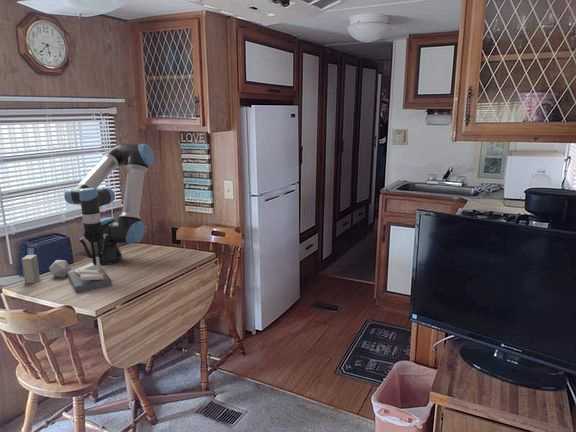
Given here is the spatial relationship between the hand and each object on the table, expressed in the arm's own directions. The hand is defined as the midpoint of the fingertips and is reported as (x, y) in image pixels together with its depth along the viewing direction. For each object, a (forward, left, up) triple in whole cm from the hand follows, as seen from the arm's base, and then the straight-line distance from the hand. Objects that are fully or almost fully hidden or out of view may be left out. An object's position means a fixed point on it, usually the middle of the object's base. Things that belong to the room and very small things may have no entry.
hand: (98, 270), depth 204 cm
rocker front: (+7, -4, -1) cm, 8 cm away
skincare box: (-18, -26, -5) cm, 32 cm away
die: (-18, -14, -5) cm, 23 cm away
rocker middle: (0, -4, -1) cm, 4 cm away
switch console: (0, -4, -5) cm, 6 cm away
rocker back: (-7, -4, -1) cm, 8 cm away
